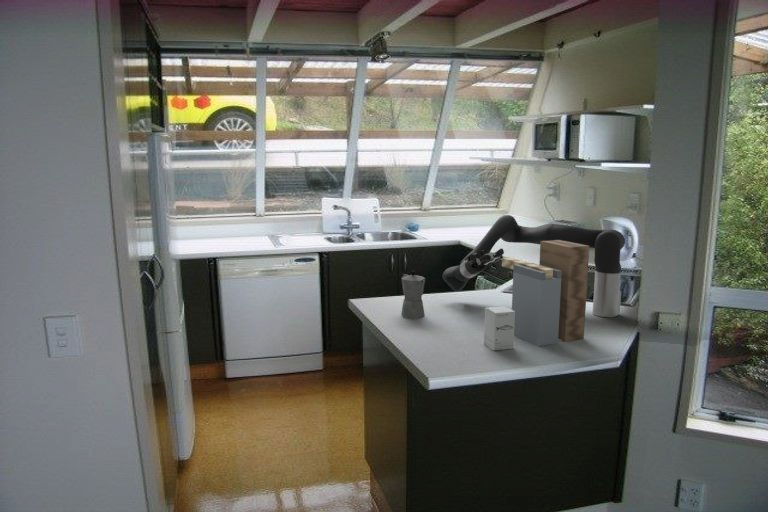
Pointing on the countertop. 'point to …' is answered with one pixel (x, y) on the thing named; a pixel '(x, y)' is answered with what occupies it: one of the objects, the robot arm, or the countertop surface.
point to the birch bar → (510, 262)
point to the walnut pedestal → (569, 284)
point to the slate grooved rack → (536, 305)
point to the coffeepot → (412, 295)
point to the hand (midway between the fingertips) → (493, 251)
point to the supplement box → (499, 328)
